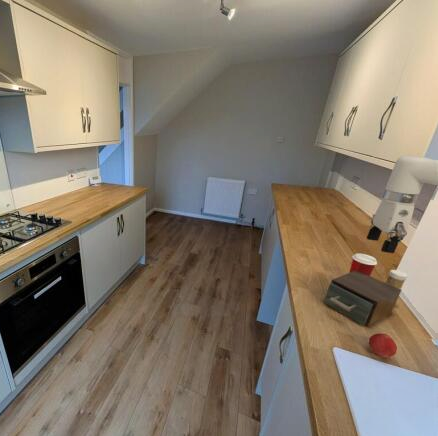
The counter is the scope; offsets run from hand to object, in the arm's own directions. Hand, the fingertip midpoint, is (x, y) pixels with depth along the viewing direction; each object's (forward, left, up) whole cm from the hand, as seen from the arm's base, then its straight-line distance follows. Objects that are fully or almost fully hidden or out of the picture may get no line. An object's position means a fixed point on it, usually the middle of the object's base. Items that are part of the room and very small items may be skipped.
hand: (379, 245), depth 80 cm
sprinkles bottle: (-3, -14, -26) cm, 30 cm away
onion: (-14, +18, -26) cm, 35 cm away
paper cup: (+8, -15, -26) cm, 31 cm away
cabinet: (0, 0, -26) cm, 26 cm away
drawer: (0, +5, -25) cm, 25 cm away
